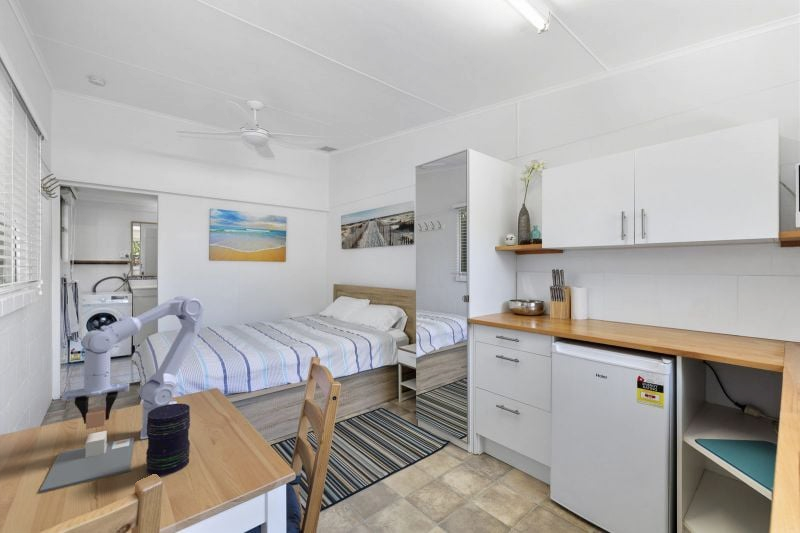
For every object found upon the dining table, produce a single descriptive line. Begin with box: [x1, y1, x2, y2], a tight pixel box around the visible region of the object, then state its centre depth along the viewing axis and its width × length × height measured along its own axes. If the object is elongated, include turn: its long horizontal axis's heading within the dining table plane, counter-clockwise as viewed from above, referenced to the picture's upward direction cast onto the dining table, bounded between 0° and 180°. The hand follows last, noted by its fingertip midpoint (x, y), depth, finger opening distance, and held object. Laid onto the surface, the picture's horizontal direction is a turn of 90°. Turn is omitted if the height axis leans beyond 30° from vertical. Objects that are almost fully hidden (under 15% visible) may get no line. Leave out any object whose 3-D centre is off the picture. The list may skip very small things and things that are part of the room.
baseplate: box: [39, 436, 135, 494], centre depth 98 cm, size 17×20×1 cm
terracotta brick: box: [85, 404, 107, 430], centre depth 103 cm, size 4×6×4 cm, turn 33°
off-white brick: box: [85, 430, 108, 457], centre depth 103 cm, size 4×6×4 cm, turn 34°
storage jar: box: [145, 403, 191, 477], centre depth 97 cm, size 10×10×15 cm
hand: (96, 420), depth 103 cm, fingers closed on terracotta brick, 4 cm apart
